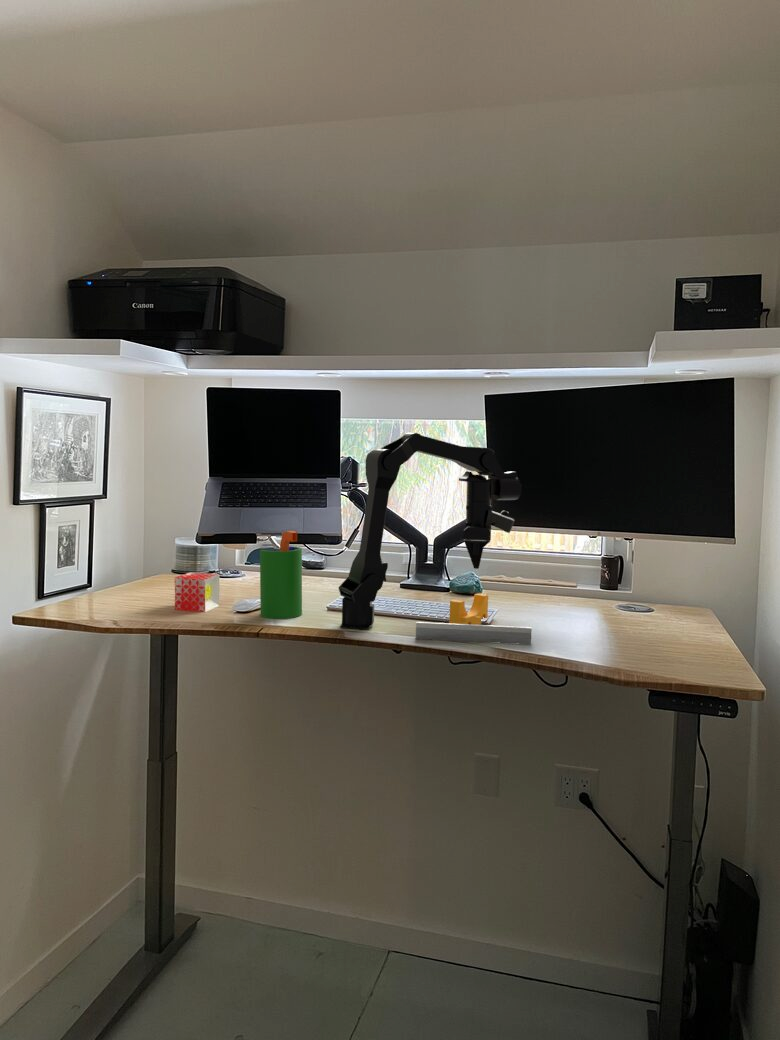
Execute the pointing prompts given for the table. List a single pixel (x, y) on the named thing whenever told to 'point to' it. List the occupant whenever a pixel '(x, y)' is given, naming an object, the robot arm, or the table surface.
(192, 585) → the puzzle cube
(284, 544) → the cup with straw
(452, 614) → the pipe clamp
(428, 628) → the rail
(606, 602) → the table surface
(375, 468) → the robot arm
